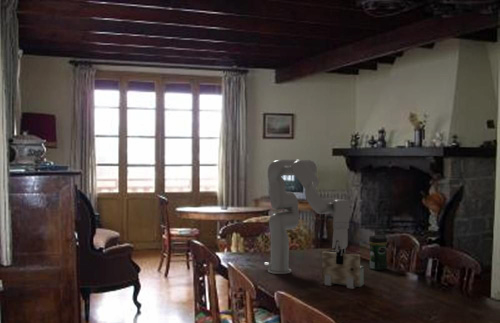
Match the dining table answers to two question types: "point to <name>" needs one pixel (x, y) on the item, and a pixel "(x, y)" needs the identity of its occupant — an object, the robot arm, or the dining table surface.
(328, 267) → the beige thin block
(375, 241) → the coffee jar
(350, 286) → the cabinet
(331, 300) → the dining table surface
